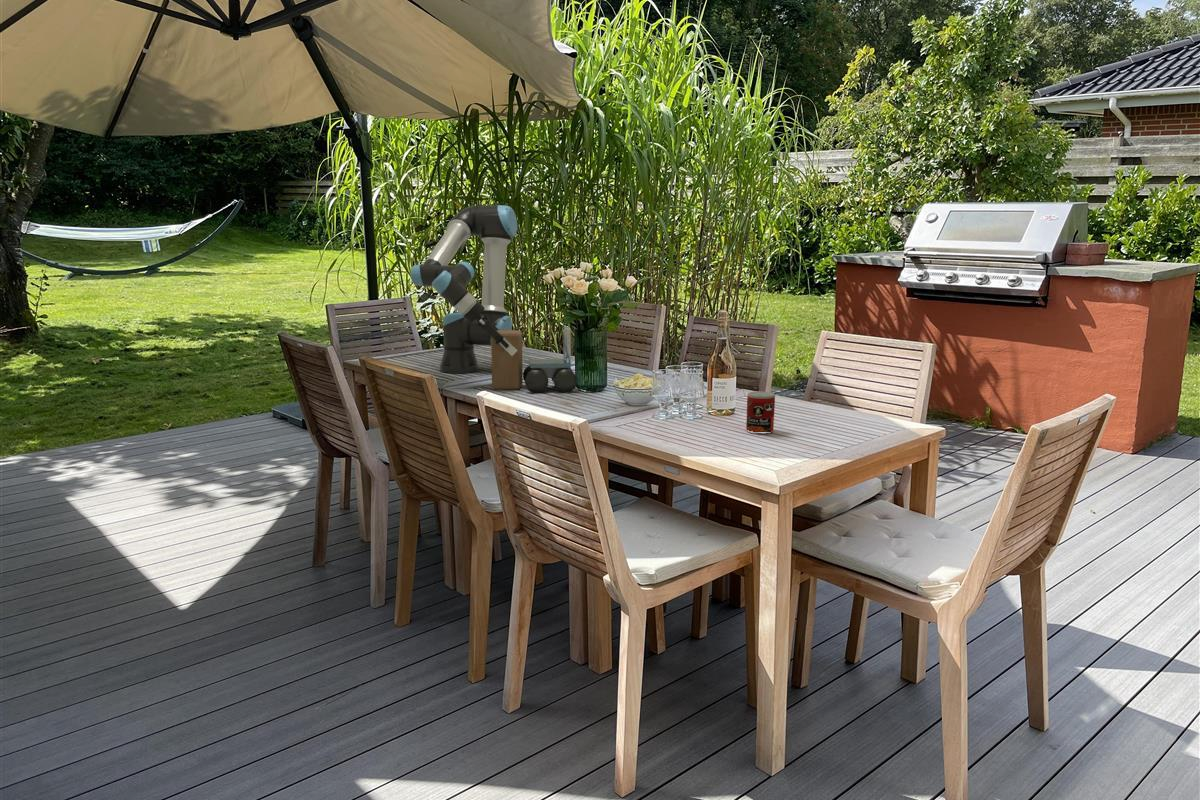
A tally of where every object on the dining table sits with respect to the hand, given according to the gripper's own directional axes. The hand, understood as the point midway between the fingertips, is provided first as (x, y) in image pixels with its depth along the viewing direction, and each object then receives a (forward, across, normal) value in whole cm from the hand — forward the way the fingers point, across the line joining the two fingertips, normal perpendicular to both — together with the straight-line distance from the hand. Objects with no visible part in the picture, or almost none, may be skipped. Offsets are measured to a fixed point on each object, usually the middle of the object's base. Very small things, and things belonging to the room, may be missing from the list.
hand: (513, 351), depth 326 cm
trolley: (+18, +5, -1) cm, 19 cm away
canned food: (+57, +77, +37) cm, 103 cm away
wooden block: (+8, 0, -11) cm, 13 cm away
